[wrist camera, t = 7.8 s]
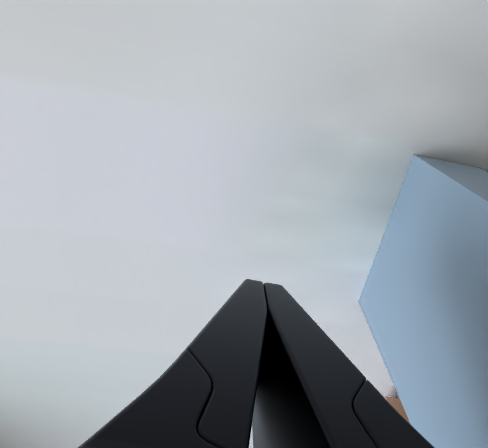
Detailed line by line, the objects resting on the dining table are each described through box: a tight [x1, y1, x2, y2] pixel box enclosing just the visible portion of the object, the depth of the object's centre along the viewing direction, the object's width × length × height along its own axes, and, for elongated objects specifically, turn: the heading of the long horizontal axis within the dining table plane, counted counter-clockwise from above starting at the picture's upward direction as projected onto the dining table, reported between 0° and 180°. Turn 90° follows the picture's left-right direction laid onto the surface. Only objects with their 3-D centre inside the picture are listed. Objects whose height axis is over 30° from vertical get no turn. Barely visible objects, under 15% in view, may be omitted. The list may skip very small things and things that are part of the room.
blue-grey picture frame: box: [359, 155, 488, 448], centre depth 11 cm, size 6×2×8 cm, turn 168°
